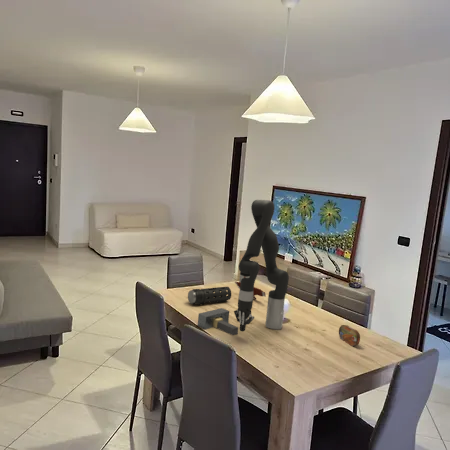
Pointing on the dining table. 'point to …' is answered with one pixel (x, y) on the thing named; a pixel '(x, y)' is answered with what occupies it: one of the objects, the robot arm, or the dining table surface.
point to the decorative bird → (256, 290)
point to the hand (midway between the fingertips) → (242, 330)
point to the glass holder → (243, 276)
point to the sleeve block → (212, 317)
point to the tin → (349, 335)
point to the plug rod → (225, 326)
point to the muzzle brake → (209, 295)
